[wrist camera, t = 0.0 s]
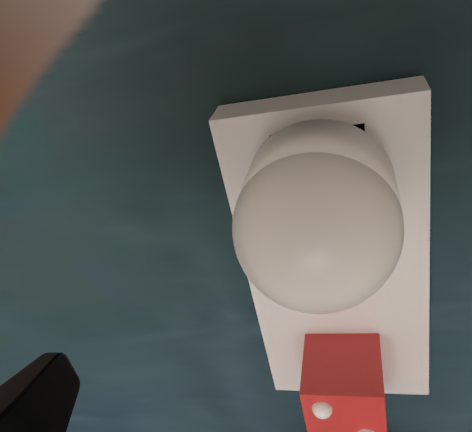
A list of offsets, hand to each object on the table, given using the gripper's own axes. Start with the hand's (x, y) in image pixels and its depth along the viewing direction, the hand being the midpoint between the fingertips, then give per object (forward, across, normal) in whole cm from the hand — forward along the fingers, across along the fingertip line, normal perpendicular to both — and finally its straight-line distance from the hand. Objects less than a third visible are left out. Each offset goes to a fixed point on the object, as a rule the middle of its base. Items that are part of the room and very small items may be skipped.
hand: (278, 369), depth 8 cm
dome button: (+13, 0, +2) cm, 13 cm away
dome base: (+15, 0, +8) cm, 17 cm away
